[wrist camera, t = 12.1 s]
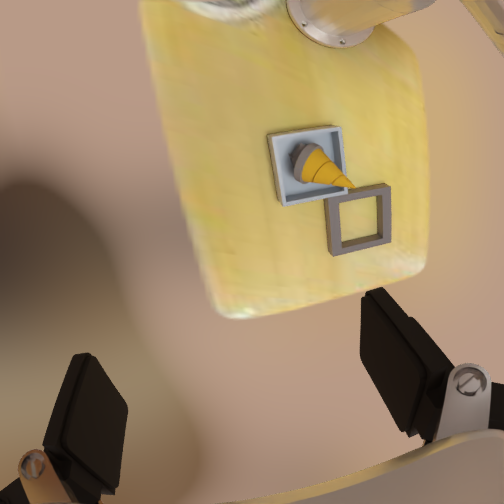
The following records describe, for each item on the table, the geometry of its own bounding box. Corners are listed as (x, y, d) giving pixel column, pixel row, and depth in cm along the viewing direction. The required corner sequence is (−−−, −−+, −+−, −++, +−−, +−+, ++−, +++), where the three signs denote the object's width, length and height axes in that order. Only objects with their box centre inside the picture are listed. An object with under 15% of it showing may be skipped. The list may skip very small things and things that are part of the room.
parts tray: (266, 134, 39) (271, 136, 36) (332, 125, 39) (341, 126, 37) (277, 200, 43) (283, 206, 40) (339, 188, 43) (348, 193, 41)
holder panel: (323, 194, 44) (327, 198, 42) (384, 183, 44) (390, 186, 42) (328, 251, 48) (332, 256, 46) (385, 237, 48) (391, 242, 46)
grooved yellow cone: (302, 129, 39) (370, 161, 35) (297, 162, 43) (359, 195, 39) (277, 142, 36) (350, 179, 32) (273, 178, 41) (339, 215, 37)
